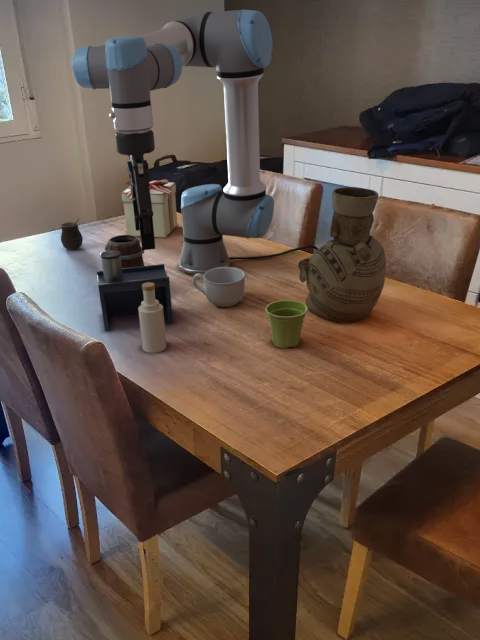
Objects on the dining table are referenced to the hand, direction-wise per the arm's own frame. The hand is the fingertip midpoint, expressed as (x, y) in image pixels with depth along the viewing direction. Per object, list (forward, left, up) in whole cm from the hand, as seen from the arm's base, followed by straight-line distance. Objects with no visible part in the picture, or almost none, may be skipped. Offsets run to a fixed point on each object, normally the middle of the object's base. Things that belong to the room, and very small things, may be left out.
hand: (145, 239), depth 135 cm
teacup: (-20, -21, -25) cm, 39 cm away
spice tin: (+7, -16, -14) cm, 23 cm away
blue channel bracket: (+3, -16, -25) cm, 30 cm away
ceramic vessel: (-48, -5, -25) cm, 54 cm away
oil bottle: (0, +1, -25) cm, 25 cm away
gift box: (-10, -89, -25) cm, 93 cm away
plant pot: (-30, +7, -25) cm, 40 cm away
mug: (+4, -37, -25) cm, 45 cm away
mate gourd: (+18, -80, -25) cm, 86 cm away
